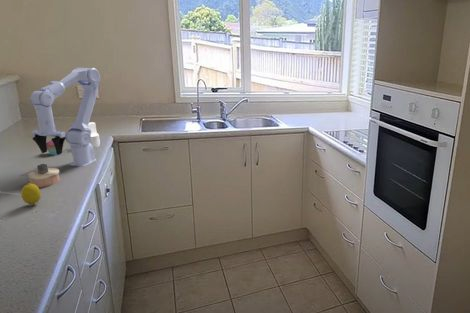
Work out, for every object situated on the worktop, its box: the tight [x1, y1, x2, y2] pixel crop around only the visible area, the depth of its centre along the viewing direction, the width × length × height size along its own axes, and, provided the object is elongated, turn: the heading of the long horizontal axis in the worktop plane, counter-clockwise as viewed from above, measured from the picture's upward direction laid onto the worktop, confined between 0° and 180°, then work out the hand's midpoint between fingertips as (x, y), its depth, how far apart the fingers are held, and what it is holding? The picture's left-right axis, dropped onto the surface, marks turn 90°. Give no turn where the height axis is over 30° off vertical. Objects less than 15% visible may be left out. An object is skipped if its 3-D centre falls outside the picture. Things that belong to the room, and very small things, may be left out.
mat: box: [20, 165, 64, 177], centre depth 144 cm, size 12×12×1 cm
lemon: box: [21, 182, 42, 206], centre depth 114 cm, size 6×6×8 cm
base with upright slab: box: [88, 121, 101, 149], centre depth 180 cm, size 9×9×12 cm
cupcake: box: [46, 139, 64, 156], centre depth 167 cm, size 9×8×12 cm
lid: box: [26, 163, 60, 180], centre depth 132 cm, size 11×11×4 cm
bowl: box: [28, 173, 60, 188], centre depth 133 cm, size 10×10×4 cm
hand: (52, 153), depth 139 cm, fingers open, 7 cm apart
